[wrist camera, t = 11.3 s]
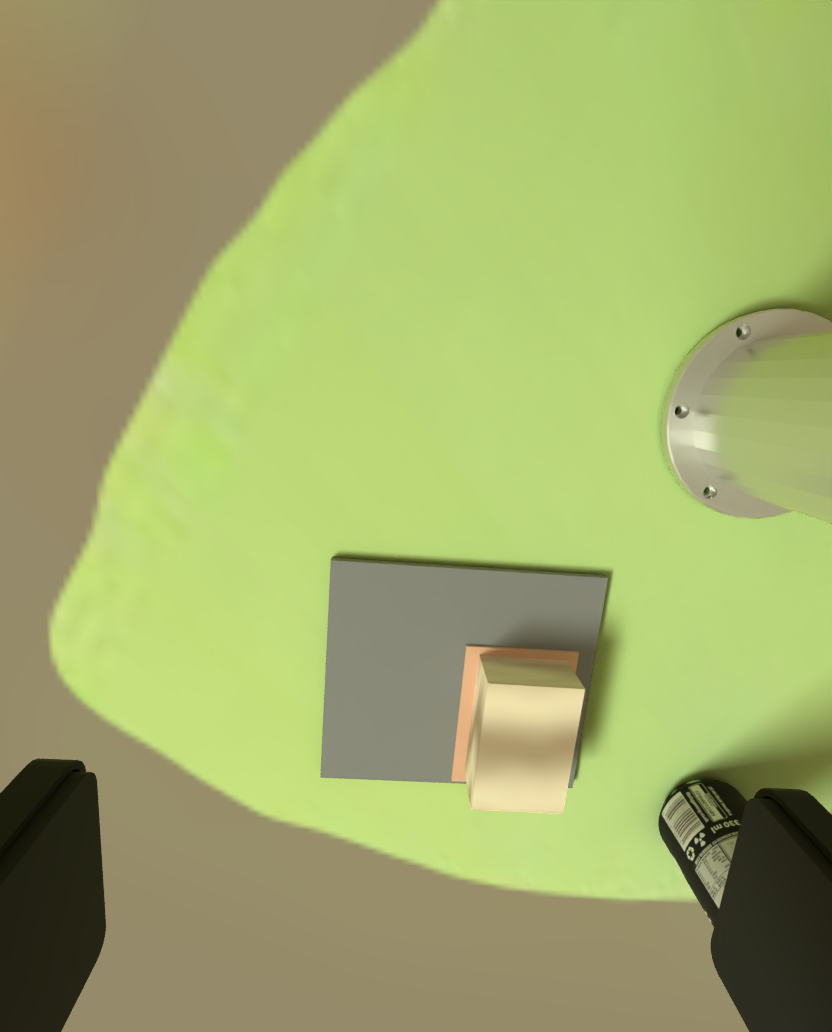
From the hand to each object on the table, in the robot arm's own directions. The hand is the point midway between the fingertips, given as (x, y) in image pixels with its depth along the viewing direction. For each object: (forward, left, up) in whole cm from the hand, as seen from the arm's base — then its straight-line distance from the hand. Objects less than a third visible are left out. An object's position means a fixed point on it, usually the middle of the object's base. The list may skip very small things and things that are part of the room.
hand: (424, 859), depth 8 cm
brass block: (-9, +15, -28) cm, 33 cm away
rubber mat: (-5, +13, -28) cm, 32 cm away
